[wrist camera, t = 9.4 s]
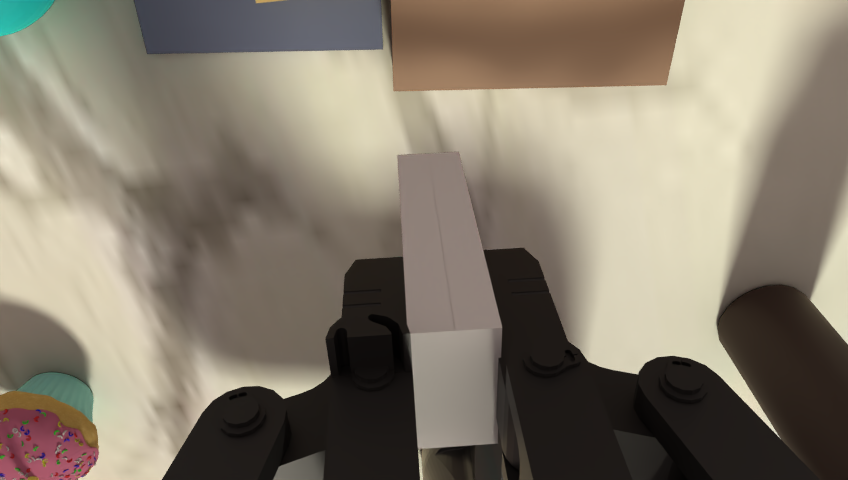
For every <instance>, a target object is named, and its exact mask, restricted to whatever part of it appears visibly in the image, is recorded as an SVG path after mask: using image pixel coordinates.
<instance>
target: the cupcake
mask: <svg viewBox="0 0 848 480" xmlns="http://www.w3.org/2000/svg"><path fill="white" fill-rule="evenodd" d="M92 410H93V395H92V392H91V390H90V389H89V388H88V386H87V385H86V384H84V383H83V382H82V381H80V380H79V379H77V378H75V377H73V376H70V375H67V374H63V373H57V372H48V373H42V374H38V375H36V376H34V377H32V378H31V379H30V380H29V381H27V382H26V383H25V384H24V385H23V386H22V387H20V388H19V389H18V390H17V391H11V392H7V393H5V394H2V395H0V480H78V478H80V477H84V476H86V475H87V473H88V472H89V470H90V469H91V468H92V467H93V466H94V465H96V461H97V459H98V455H99V451H98V448H99V446H98V435H97V429H96V426H95V425H94V424H93V422H92Z"/></svg>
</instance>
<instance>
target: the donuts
mask: <svg viewBox="0 0 848 480" xmlns="http://www.w3.org/2000/svg"><path fill="white" fill-rule="evenodd" d="M53 2H54V0H0V36H4V35H8V34H12V33H15V32H18V31H20V30H22V29H24V28H26V27H28V26H29V25H31V24H33V23H34V22H35V21H37V20H38V19H39V18H40V17H42V16H43V15H44V14H45V13H46V12H47V10H48V9H49V8H50V7H51V5H52V4H53Z"/></svg>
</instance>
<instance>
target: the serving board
mask: <svg viewBox="0 0 848 480" xmlns="http://www.w3.org/2000/svg"><path fill="white" fill-rule="evenodd" d="M684 2H685V0H391V30H392V63H393V87H394V91H425V90H469V89H513V88H558V87H602V86H647V85H666V84H667V80H668V75H669V70H670V66H671V61H672V57H673V52H674V48H675V43H676V39H677V34H678V29H679V25H680V20H681V16H682V11H683V7H684Z"/></svg>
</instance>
